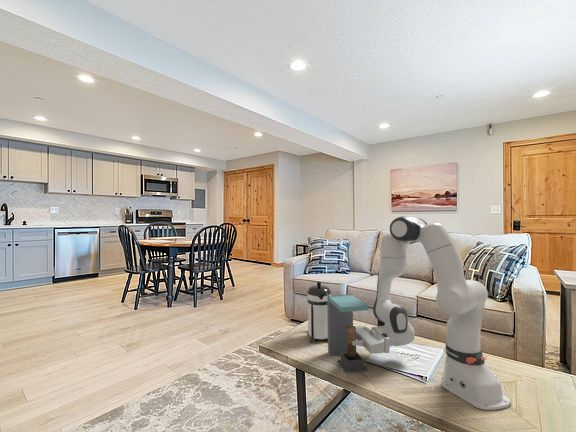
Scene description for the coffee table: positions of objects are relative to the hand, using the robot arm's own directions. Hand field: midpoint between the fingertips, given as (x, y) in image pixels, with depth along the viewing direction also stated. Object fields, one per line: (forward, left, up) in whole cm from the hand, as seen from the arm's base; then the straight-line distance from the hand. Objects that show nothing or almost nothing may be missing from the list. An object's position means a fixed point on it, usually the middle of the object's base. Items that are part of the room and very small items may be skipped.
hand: (349, 340), depth 127 cm
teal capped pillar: (+5, -1, -11) cm, 12 cm away
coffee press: (+32, +4, -11) cm, 34 cm away
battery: (+25, -31, -11) cm, 41 cm away
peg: (0, -1, -7) cm, 7 cm away
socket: (0, -1, -11) cm, 11 cm away
